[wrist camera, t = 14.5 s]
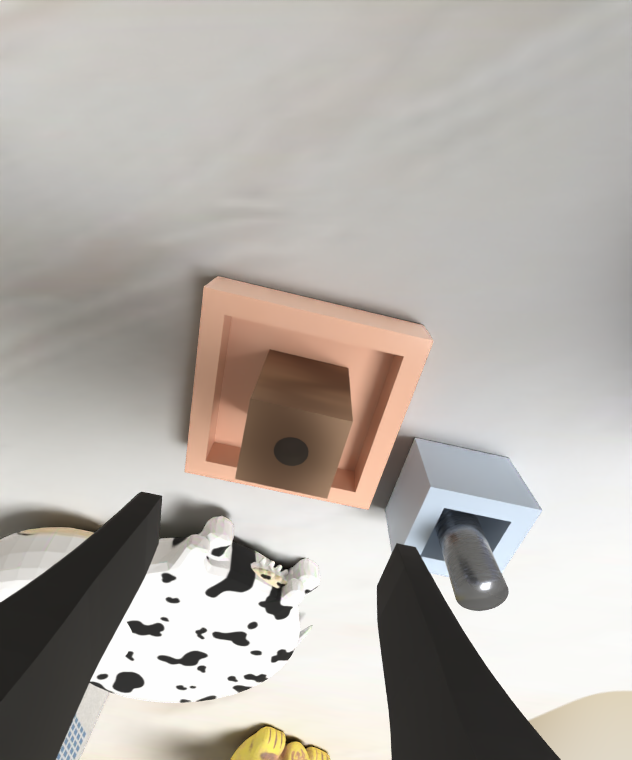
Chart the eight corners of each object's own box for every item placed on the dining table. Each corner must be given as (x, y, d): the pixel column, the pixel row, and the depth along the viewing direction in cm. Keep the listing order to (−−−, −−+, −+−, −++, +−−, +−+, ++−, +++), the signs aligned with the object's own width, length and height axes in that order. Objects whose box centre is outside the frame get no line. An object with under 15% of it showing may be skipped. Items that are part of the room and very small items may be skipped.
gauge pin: (467, 473, 23) (517, 582, 17) (452, 501, 24) (494, 614, 18) (430, 465, 23) (467, 572, 16) (417, 494, 24) (447, 605, 17)
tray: (423, 324, 19) (433, 341, 17) (365, 482, 23) (368, 509, 21) (217, 275, 18) (203, 286, 16) (197, 447, 23) (184, 472, 21)
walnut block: (348, 368, 20) (353, 421, 15) (328, 433, 21) (327, 498, 17) (269, 349, 19) (250, 398, 15) (256, 416, 21) (234, 479, 17)
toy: (59, 405, 22) (-65, 596, 28) (10, 461, 18) (-124, 671, 24) (349, 552, 30) (202, 675, 36) (361, 614, 26) (193, 740, 32)
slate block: (508, 458, 22) (542, 510, 19) (470, 527, 25) (493, 585, 21) (414, 437, 22) (430, 486, 18) (384, 509, 24) (393, 565, 21)
